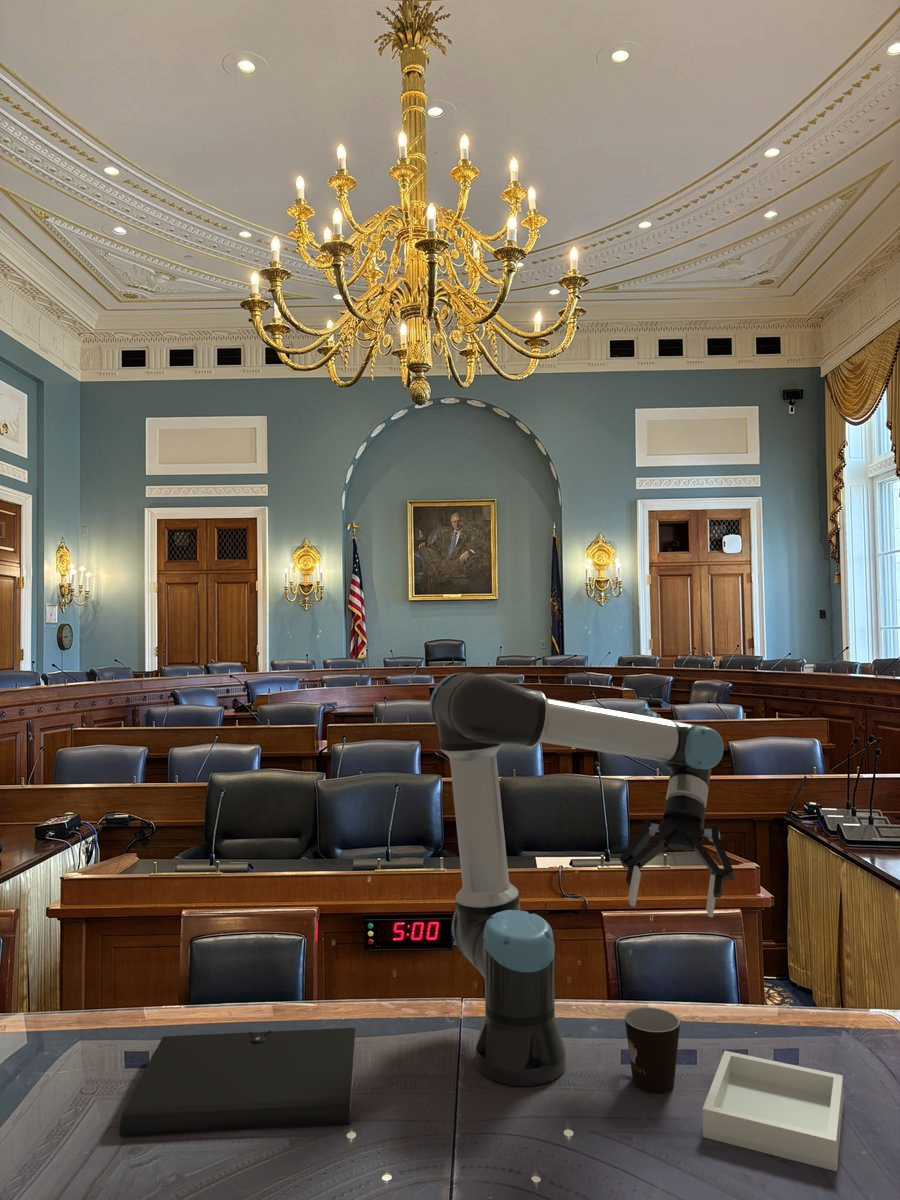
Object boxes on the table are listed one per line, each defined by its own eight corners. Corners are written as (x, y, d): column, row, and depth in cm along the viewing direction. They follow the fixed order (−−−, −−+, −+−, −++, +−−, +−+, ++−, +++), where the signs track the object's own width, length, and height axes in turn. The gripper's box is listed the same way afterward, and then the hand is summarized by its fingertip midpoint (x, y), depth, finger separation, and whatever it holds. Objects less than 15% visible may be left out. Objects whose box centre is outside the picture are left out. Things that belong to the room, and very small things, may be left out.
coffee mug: (683, 1100, 131) (681, 1034, 131) (625, 1094, 133) (624, 1029, 133) (678, 1062, 142) (677, 1001, 143) (625, 1057, 144) (624, 997, 145)
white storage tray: (703, 1137, 122) (702, 1108, 122) (725, 1075, 138) (724, 1050, 138) (836, 1171, 114) (836, 1141, 114) (843, 1102, 130) (842, 1075, 130)
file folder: (355, 1024, 150) (349, 1104, 125) (355, 1048, 149) (349, 1132, 125) (163, 1033, 147) (119, 1116, 123) (163, 1057, 147) (119, 1144, 123)
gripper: (756, 821, 160) (746, 928, 146) (625, 810, 171) (605, 908, 157) (751, 798, 155) (741, 906, 141) (617, 788, 167) (595, 887, 153)
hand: (669, 908), depth 149 cm, fingers open, 13 cm apart
